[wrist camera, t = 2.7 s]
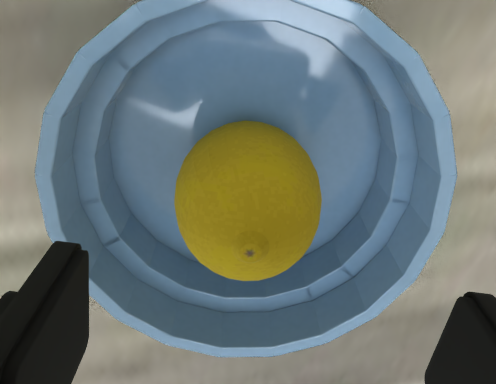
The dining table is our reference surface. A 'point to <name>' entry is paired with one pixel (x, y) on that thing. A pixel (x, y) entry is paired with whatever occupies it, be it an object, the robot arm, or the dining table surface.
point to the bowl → (247, 109)
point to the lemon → (248, 201)
